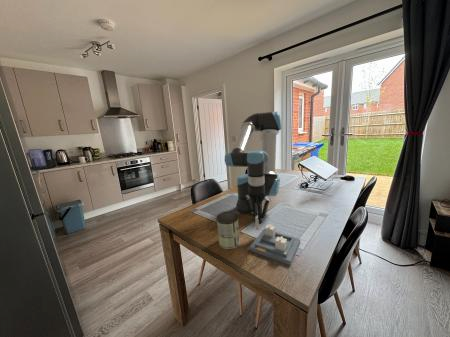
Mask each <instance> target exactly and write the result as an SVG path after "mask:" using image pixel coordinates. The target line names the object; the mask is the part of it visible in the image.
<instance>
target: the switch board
mask: <svg viewBox="0 0 450 337" xmlns="http://www.w3.org/2000/svg"><path fill="white" fill-rule="evenodd" d="M281 236H282V237H283V238H284V239H287V249H286V251H285V252H283V251H280V250H277V249H275V240H276V238H277V237H281ZM300 244H301V238H298V237H295V236H291V235H288V234H284V233H281V232H278V231H277V232H276V231H275V237H274V238H273V237H270V236H266V235H265V228H263V230H262V231H261V232H260V233H259V235H258V236H257V237H256V238H255V239H254V240H253V242H252V243H251V244H250V246H249V251H251V252H253V253H255V254H258V255H260V256H263V257H266V258H269V259H272V260H274V261H277V262H280V263H282V264H285V265H287V266H291V265H292V263H293V261H294V259H295V257H296V254H297V252H298V249H299V247H300Z"/></svg>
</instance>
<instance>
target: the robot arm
mask: <svg viewBox="0 0 450 337" xmlns="http://www.w3.org/2000/svg"><path fill="white" fill-rule="evenodd" d="M281 130H282V122H281V114H280V112H278V111H268V112H258V113H254V114H253V113H252V114H251V115H250V116H248V117H247V118H245V119H244V121H242V123H241V126H240V132H239V133H238V137H237V139H236V140H235V143H234V146H233V148H232V151H230V152H226V153H225V155H224V164H225V165H226V167H232V168H237V167H239V168H240V167H241V168H242V167H246V168H247V173H246V174H242V175H240V176H238V177H237V180H236V186H237V188H236V189H237V197H238V198H237V200H236V201H237V202H236V206H235V209H236V211H237V212H238V213H241V214H245V215H246V214H247V215H248V214H249V215H250V216H252V217H253V223H254V225H255V230H256V231H259V230H260V229H261V224H262V223H263V219H265V217H266V215H267V212H268V207H269V204H270V202H271V198H267V197H276V196H278V194H279V190H280V184H281V179H280V177H278V174H277V173H276V162H277V161H276V160H277V159H276V158H277V157H276V156H277V155H276V153H277V135H278V134H279V133H280V131H281ZM255 132H260V134H261V135H262V144H261V145H262V146H261V150H251V151H247V150H248V147H249V145H250V142H251V139H252V136H253V135H254V134H255ZM263 202H264V204H263Z"/></svg>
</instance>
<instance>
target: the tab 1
mask: <svg viewBox="0 0 450 337" xmlns="http://www.w3.org/2000/svg"><path fill="white" fill-rule="evenodd" d="M264 229H265V235H266V236H270V237H273V238H274V237H275V232H276V226H274V225H273V224H272V223H270V224H266V226H265V227H264Z"/></svg>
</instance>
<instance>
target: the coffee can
mask: <svg viewBox="0 0 450 337" xmlns="http://www.w3.org/2000/svg"><path fill="white" fill-rule="evenodd" d="M215 219H216V226H217V234H218V245H219V246H220V247H221V248H222V249H224V250H231V249H235V248H237V247H238V246H239V245H240V243H241V241H240V231H239V230H240V229H239V214H237V212H235V211H223V212H220V213H219V214H217V215H216V218H215Z"/></svg>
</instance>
